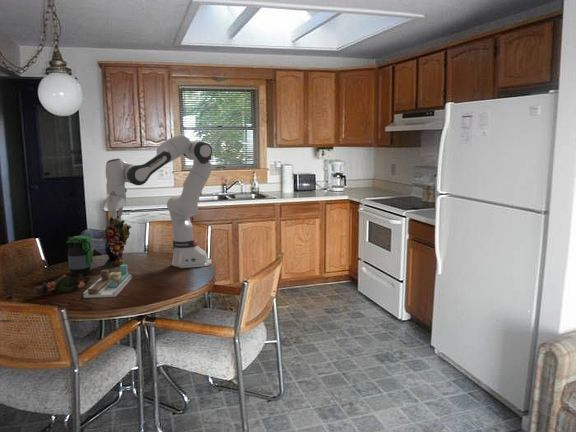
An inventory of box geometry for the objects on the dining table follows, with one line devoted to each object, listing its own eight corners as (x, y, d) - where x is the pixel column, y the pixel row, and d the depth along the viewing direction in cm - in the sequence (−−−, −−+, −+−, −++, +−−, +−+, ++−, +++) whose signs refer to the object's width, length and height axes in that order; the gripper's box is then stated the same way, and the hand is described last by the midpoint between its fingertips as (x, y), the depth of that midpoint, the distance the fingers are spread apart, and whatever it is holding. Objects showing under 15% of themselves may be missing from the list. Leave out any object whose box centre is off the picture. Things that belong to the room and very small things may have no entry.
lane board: (131, 278, 236) (131, 274, 236) (115, 296, 209) (115, 292, 208) (103, 279, 235) (103, 275, 235) (83, 297, 208) (83, 292, 207)
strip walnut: (110, 280, 229) (110, 269, 228) (97, 293, 209) (96, 281, 208) (102, 280, 228) (101, 269, 227) (88, 294, 209) (87, 281, 208)
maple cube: (121, 280, 224) (121, 271, 223) (119, 283, 220) (118, 274, 219) (112, 281, 224) (111, 272, 223) (109, 283, 219) (108, 274, 219)
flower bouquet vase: (98, 267, 258) (94, 214, 253) (113, 260, 273) (110, 210, 268) (122, 268, 255) (119, 215, 250) (137, 261, 270) (134, 211, 265)
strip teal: (128, 275, 238) (128, 264, 237) (117, 287, 218) (116, 275, 217) (121, 275, 238) (120, 264, 237) (109, 287, 218) (108, 275, 217)
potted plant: (92, 275, 242) (89, 238, 239) (66, 276, 241) (62, 238, 238) (99, 270, 253) (96, 234, 249) (74, 270, 252) (71, 234, 249)
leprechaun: (94, 281, 224) (45, 290, 202) (87, 296, 227) (38, 306, 205) (82, 267, 228) (33, 275, 206) (76, 282, 231) (26, 291, 210)
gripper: (116, 192, 225) (118, 220, 228) (127, 188, 246) (129, 214, 248) (103, 192, 225) (105, 220, 227) (115, 188, 245) (117, 214, 247)
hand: (117, 217), depth 238 cm, fingers open, 8 cm apart
